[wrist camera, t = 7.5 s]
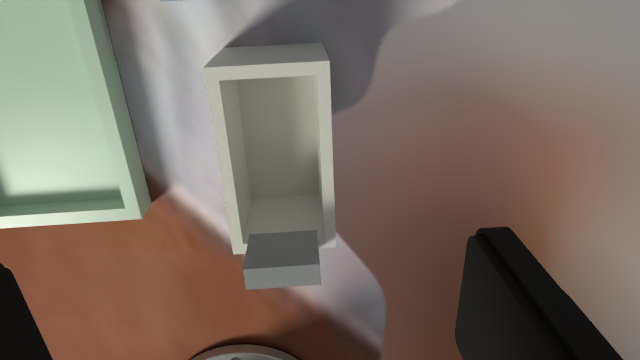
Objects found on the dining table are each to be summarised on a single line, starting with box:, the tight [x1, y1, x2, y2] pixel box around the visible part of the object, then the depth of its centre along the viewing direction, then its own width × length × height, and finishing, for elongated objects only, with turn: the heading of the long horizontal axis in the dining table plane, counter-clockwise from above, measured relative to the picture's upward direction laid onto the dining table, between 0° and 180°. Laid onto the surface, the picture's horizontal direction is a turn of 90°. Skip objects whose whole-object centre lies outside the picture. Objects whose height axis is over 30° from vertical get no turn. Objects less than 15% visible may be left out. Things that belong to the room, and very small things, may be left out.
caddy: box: [203, 43, 336, 290], centre depth 22 cm, size 10×6×9 cm, turn 2°
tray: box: [0, 0, 151, 228], centre depth 23 cm, size 15×10×2 cm
